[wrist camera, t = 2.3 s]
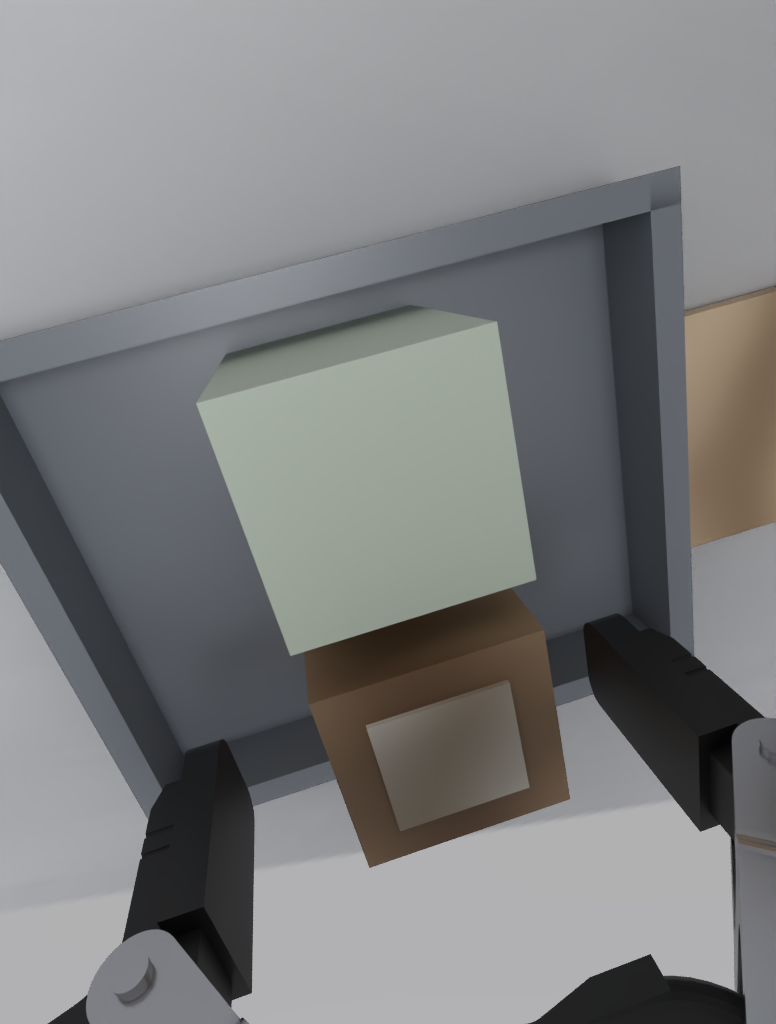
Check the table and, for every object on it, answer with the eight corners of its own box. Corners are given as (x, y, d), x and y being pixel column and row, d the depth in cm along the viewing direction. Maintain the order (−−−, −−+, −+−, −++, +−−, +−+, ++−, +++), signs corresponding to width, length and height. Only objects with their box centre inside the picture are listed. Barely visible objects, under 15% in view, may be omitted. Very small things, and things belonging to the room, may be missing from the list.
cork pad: (873, 258, 16) (894, 258, 16) (852, 485, 19) (869, 492, 19) (642, 323, 16) (655, 324, 15) (654, 547, 19) (666, 555, 18)
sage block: (409, 304, 14) (497, 321, 9) (445, 476, 16) (536, 579, 10) (226, 353, 14) (195, 403, 8) (283, 522, 16) (290, 656, 10)
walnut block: (452, 512, 16) (546, 632, 11) (479, 641, 18) (572, 803, 13) (295, 558, 16) (308, 708, 10) (339, 686, 18) (370, 872, 12)
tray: (615, 183, 14) (680, 165, 12) (644, 616, 20) (694, 660, 17) (-46, 353, 13) (-111, 369, 11) (172, 767, 18) (158, 837, 16)
